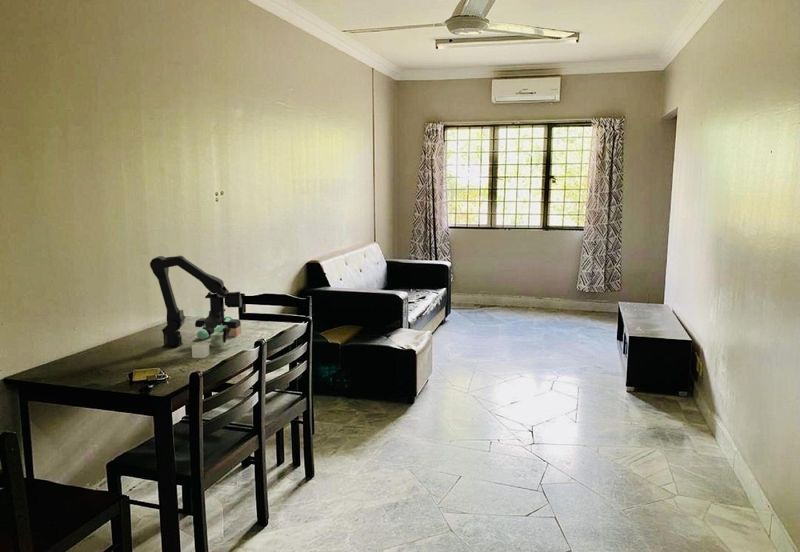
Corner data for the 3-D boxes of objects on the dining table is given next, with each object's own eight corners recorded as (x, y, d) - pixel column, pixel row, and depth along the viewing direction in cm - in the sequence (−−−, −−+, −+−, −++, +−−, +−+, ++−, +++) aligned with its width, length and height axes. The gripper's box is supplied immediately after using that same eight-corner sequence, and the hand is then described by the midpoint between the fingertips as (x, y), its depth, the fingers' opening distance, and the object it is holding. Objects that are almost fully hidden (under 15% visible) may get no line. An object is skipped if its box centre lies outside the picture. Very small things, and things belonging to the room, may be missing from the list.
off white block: (192, 357, 242) (191, 345, 241) (198, 354, 247) (197, 342, 246) (203, 358, 241) (203, 346, 241) (209, 354, 246) (208, 343, 245)
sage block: (210, 346, 259) (210, 334, 258) (216, 342, 264) (215, 332, 263) (221, 346, 258) (221, 335, 257) (226, 343, 263) (226, 332, 262)
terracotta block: (226, 336, 274) (226, 326, 274) (230, 333, 279) (230, 323, 278) (236, 336, 274) (236, 326, 273) (241, 334, 279) (240, 323, 278)
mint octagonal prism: (202, 327, 266) (231, 314, 290) (192, 331, 268) (222, 318, 292) (207, 339, 267) (236, 325, 291) (197, 343, 268) (226, 329, 292)
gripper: (187, 311, 251) (189, 346, 254) (229, 312, 249) (231, 348, 251) (200, 305, 262) (201, 339, 265) (240, 306, 260) (241, 341, 262)
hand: (218, 342), depth 261 cm, fingers closed on sage block, 5 cm apart
